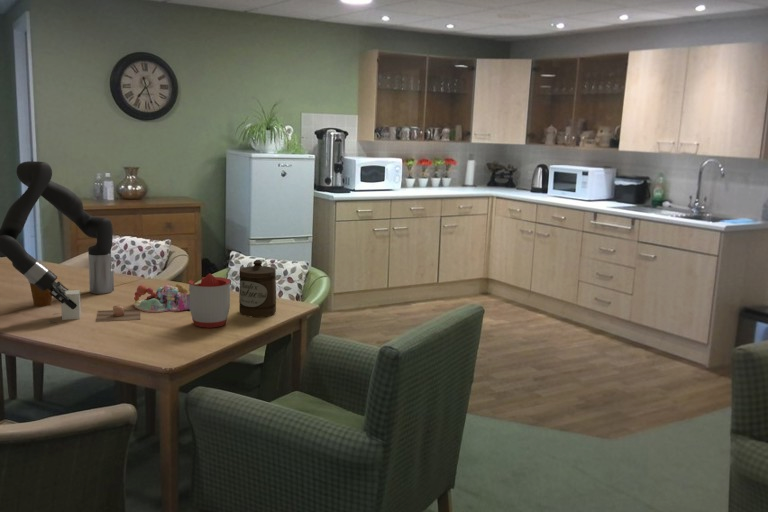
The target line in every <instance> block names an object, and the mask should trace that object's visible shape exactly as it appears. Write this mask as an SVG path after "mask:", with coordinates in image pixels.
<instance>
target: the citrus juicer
mask: <svg viewBox="0 0 768 512" xmlns="http://www.w3.org/2000/svg"><path fill="white" fill-rule="evenodd" d="M231 282H232V281H231V280H230V279H229V278H225V277H219V276H214V275H213V274H212V273H207V275H205V277H203V276H202V277H201V278H200V283H197V284H196V283H195V281H194V280H192V279H190V280H189V281H188V286H189V288H188V290H189V303H190V310H189V311H190V315H191V320H192V322H193V324H194V325H195V326H196V327H198V328H199V327H200V328H207V329H213V328H217V327H222V326H224V325H226V322H227V320H228V316H229V312H230V310H231V309H230V307H231Z"/></svg>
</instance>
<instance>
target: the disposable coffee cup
mask: <svg viewBox="0 0 768 512" xmlns="http://www.w3.org/2000/svg"><path fill="white" fill-rule="evenodd" d="M27 281H28V283H29V287H30V292H31V297H32V302H33V306H34V307H47V306H52V299H53V296H52V295H50V292H51V291H50V290H49V289H46V290H45V291H41V290H40V289H39V288H38V287H36V286H35V285H34V284H33V283H32V282H30V281H29V280H28V279H27Z"/></svg>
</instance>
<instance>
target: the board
mask: <svg viewBox="0 0 768 512" xmlns="http://www.w3.org/2000/svg"><path fill="white" fill-rule="evenodd" d="M125 321H128V322H129V321H141V310H139V309H137V308H135V309H134V308H133V309H132V308H131V309H124V316H120V317H115V316H113V309H112V310H111V309H110V310H109V309H108V310H107V309H106V310H97V314H96V318H95V323H106V322H125Z"/></svg>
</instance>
